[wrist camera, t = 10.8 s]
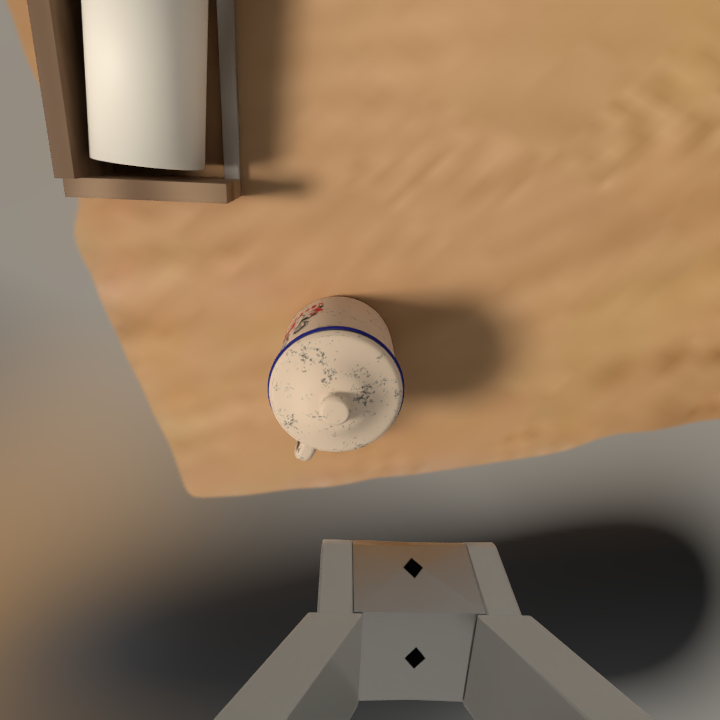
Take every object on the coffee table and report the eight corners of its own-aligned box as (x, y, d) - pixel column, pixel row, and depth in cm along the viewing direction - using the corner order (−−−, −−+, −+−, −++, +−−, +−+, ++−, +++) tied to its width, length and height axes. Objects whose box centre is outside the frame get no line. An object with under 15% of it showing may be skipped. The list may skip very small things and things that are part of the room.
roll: (209, -66, 29) (208, -33, 36) (63, -99, 27) (89, -59, 34) (204, 176, 34) (204, 167, 40) (79, 162, 32) (99, 155, 38)
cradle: (231, -81, 34) (208, -124, 28) (240, 195, 40) (223, 205, 34) (62, -91, 34) (5, -137, 28) (98, 189, 40) (57, 198, 34)
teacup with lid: (305, 274, 42) (290, 320, 31) (412, 317, 44) (434, 376, 33) (255, 404, 46) (227, 485, 36) (355, 439, 48) (357, 527, 37)
